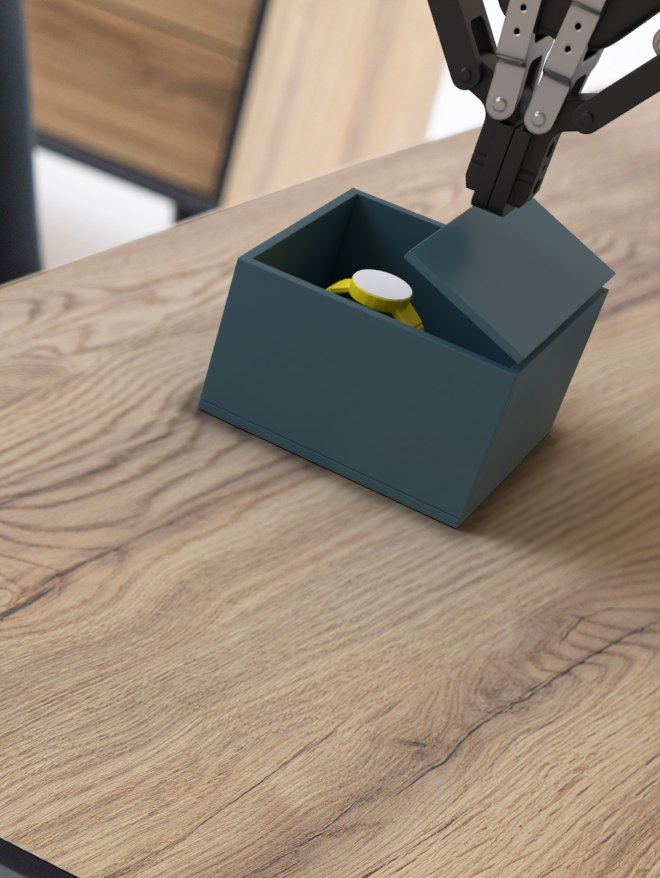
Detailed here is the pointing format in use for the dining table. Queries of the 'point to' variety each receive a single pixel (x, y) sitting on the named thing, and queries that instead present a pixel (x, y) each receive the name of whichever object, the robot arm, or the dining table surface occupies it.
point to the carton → (381, 365)
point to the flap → (511, 273)
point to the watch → (381, 294)
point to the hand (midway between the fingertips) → (492, 206)
